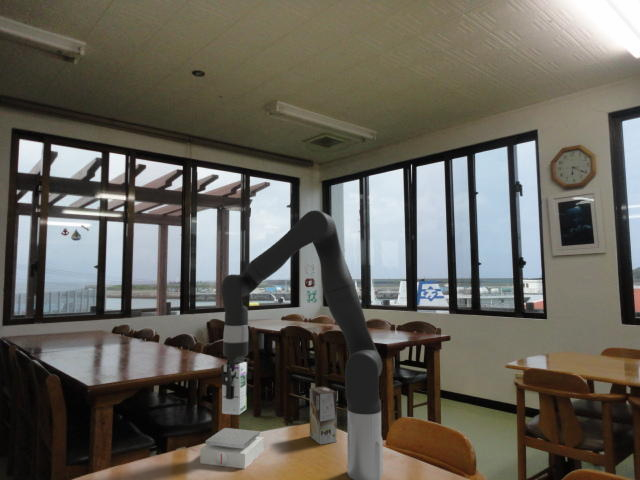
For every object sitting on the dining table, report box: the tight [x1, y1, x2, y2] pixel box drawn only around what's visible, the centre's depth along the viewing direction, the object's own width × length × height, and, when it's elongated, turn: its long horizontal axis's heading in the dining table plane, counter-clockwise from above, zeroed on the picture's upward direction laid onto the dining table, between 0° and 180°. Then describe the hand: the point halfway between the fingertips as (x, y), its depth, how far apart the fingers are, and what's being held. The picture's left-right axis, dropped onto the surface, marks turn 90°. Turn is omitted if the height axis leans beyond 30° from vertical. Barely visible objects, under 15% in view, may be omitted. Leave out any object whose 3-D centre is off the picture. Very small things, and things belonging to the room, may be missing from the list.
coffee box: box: [309, 386, 338, 445], centre depth 151 cm, size 9×6×16 cm
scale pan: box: [205, 427, 261, 448], centre depth 135 cm, size 12×12×1 cm
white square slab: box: [199, 436, 265, 470], centre depth 134 cm, size 14×15×4 cm
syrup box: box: [221, 362, 248, 416], centre depth 136 cm, size 6×6×14 cm
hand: (234, 396), depth 136 cm, fingers closed on syrup box, 6 cm apart
